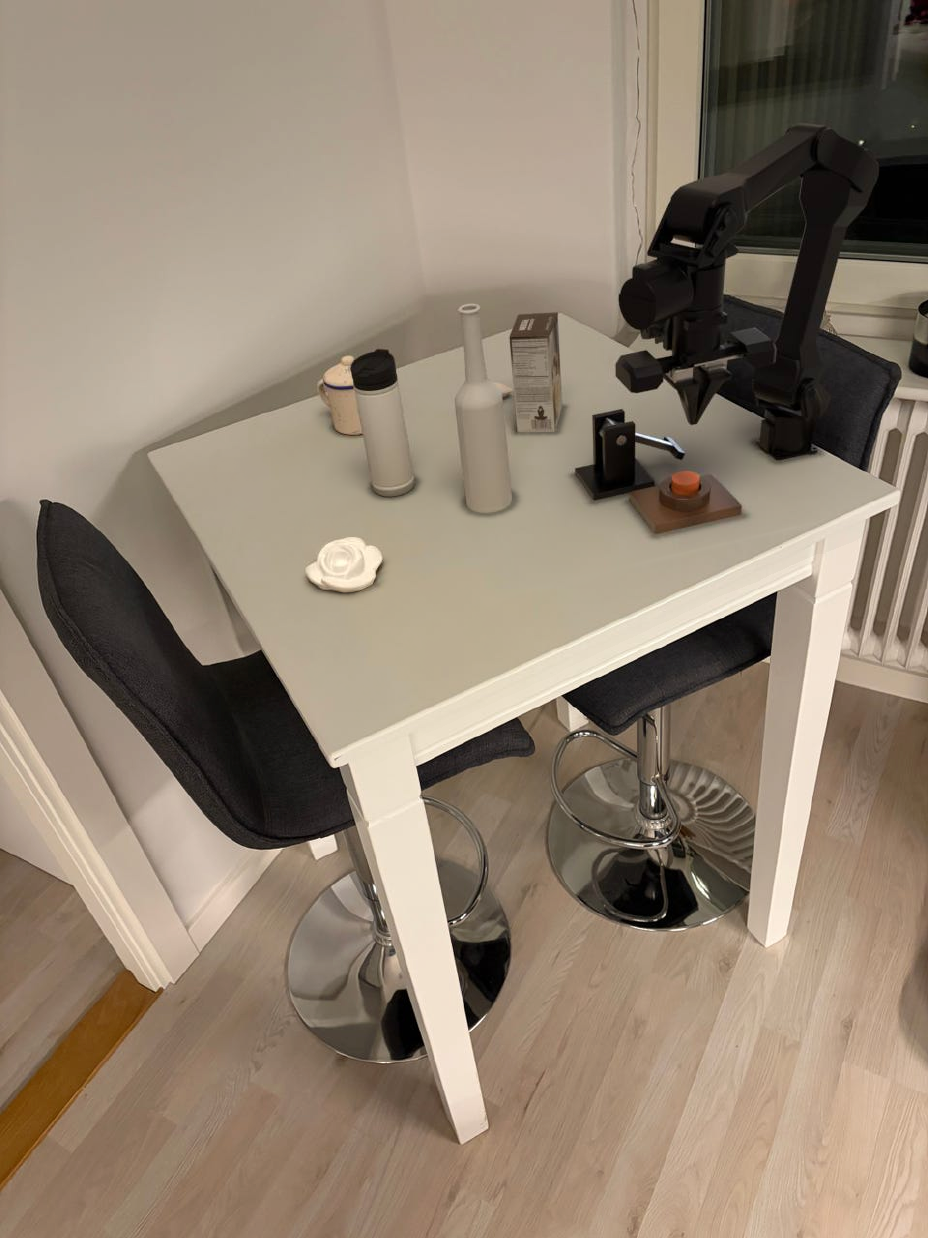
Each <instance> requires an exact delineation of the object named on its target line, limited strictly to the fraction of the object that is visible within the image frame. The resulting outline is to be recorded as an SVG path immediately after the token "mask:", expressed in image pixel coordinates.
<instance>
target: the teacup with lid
mask: <svg viewBox="0 0 928 1238" xmlns="http://www.w3.org/2000/svg"><path fill="white" fill-rule="evenodd" d="M354 360H355V358H354V357H353V356H352V355H344V356H343V357H341V362H339V363H338V364H337V365H336V364H335V365H334V366H331V367H330V368H329V369H328V370H326V371H325V372H324V374H323V377H322V378H321V379H320V380H319V381H318V382H317V383H316V384H317V385H316V390H317V394H318V396H319V398H320V400H321V401H322V403H324V404H325V405H326V406H327V407H329V408H330V413H331V416H332V422H333V426H334V429H335V430H336V431H337V432H338V433H341V434H342V435H348V436H354V435H355V436H357V435H358V436H359V435H363V433H362V428H361V423H360V418H359V413H358V408H357V403H356V397H355V392H354V387H353V379H352V375H351V370H350V366H351V363H352V362H353V361H354ZM324 386H325V388H326V391H325V388H324Z"/></svg>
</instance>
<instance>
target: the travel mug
mask: <svg viewBox="0 0 928 1238" xmlns="http://www.w3.org/2000/svg"><path fill="white" fill-rule="evenodd" d="M395 359H396V358H395V356H394V355H393V353H390V351H389V349H385V348H376V349H375V350H374V351H370V352H367V353H364V354H362V355H359V356H358V357H356V358H354V361H353V362H352V363H351V366H350V370H351V375H352V379H353V387H354V392H355V397H356V403H357V408H358V413H359V418H360V423H361V428H362V433H363V434H362V438H363V444H364V448H365V454H366V458H367V463H368V469H369V474H370V479H371V484H372V489H373V491H374V492H375V494H377V495H379V496H382V497H387V498H389V497H391V498H392V497H399V496H402V495H405V494H407V493H409V492H410V491H411V490H412V489H413V488H414V487H415V484H416V481H415V474H414V468H413V462H412V457H411V456H412V455H411V450H410V449H411V448H410V444H409V443H410V442H409V437H408V432H407V426H406V419H405V413H404V406H403V401H402V395H401V388H400V383H399V377H398V373H397V365H396V360H395Z"/></svg>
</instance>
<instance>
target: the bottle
mask: <svg viewBox="0 0 928 1238" xmlns="http://www.w3.org/2000/svg"><path fill="white" fill-rule="evenodd" d="M480 310H481V305H479V304H478V303H465V304H463V305H460V306H459V307H458V310H457V311H458V313H459V316H460V325H461V326H460V327H461V337H462V345H463V346H462V347H463V358H464V359H463V360H464V382H463V384H462V386H461V387H460V388H459V390H458V391H457V393H456V394H455V396H454V407H455V409H454V410H455V416H456V417H455V418H456V425H457V435H458V445H459V453H460V463H461V471H462V478H463V488H464V489H463V490H464V497H465V504H466V507H467V508H468V509H470V510H471V511H474V512H477V513H483V514H484V513H485V514H487V513H496V512H499V511H501V510H504V509H506V508H507V507H508V506H510V505H511V503H512V501H513V493H512V480H511V472H510V461H509V452H508V451H509V450H508V449H509V448H508V440H507V430H506V420H505V419H506V418H505V409H504V397H503V398H502V393H501V392H500V390H499V389H498V388H497V387H496V386H495V385H494V384H493V382H492V381H491V380H490V379H489V377H488V372H487V365H486V359H485V353H484V346H483V338H482V329H481V328H482V327H481V317H480Z"/></svg>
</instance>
